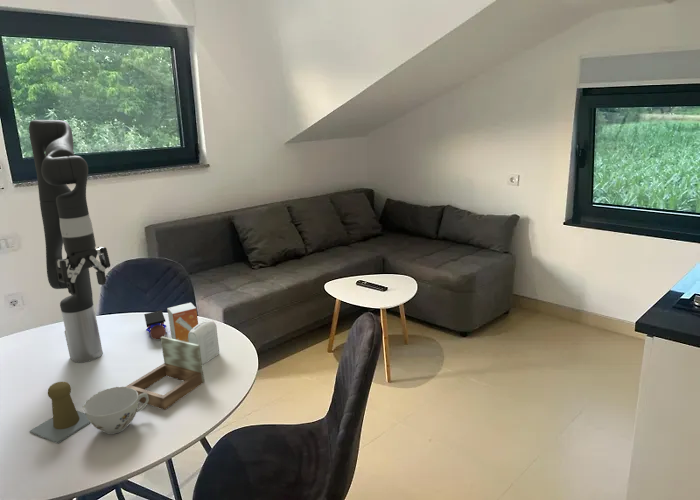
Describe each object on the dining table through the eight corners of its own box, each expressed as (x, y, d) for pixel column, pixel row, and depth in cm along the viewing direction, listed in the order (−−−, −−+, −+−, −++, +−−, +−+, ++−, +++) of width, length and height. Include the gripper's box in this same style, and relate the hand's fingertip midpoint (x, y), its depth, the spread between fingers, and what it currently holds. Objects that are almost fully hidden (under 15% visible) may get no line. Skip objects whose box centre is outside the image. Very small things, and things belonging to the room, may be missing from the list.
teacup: (94, 449, 123) (88, 421, 121) (84, 424, 133) (79, 397, 130) (158, 425, 131) (153, 398, 129) (145, 403, 141) (140, 377, 139)
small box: (177, 350, 171) (171, 313, 167) (171, 343, 176) (166, 307, 172) (201, 343, 175) (196, 307, 171) (195, 336, 180) (190, 301, 176)
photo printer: (211, 350, 169) (206, 316, 166) (221, 353, 168) (217, 318, 164) (189, 365, 161) (184, 329, 157) (200, 368, 159) (195, 331, 155)
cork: (66, 430, 130) (57, 392, 127) (47, 427, 132) (38, 389, 128) (84, 417, 135) (77, 379, 132) (66, 413, 137) (58, 376, 134)
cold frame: (127, 397, 144) (120, 359, 141) (168, 372, 157) (162, 336, 154) (165, 410, 138) (158, 370, 134) (204, 382, 151) (199, 344, 147)
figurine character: (145, 331, 189) (149, 343, 176) (141, 311, 188) (145, 321, 174) (164, 327, 192) (170, 338, 179) (161, 307, 191) (166, 317, 177)
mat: (29, 432, 131) (29, 430, 130) (69, 408, 140) (69, 407, 140) (57, 443, 126) (57, 442, 126) (96, 418, 135) (96, 417, 135)
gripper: (61, 240, 130) (74, 300, 134) (109, 227, 142) (119, 282, 147) (43, 238, 133) (55, 296, 138) (91, 225, 145) (101, 279, 150)
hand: (88, 289), depth 142 cm, fingers open, 8 cm apart
